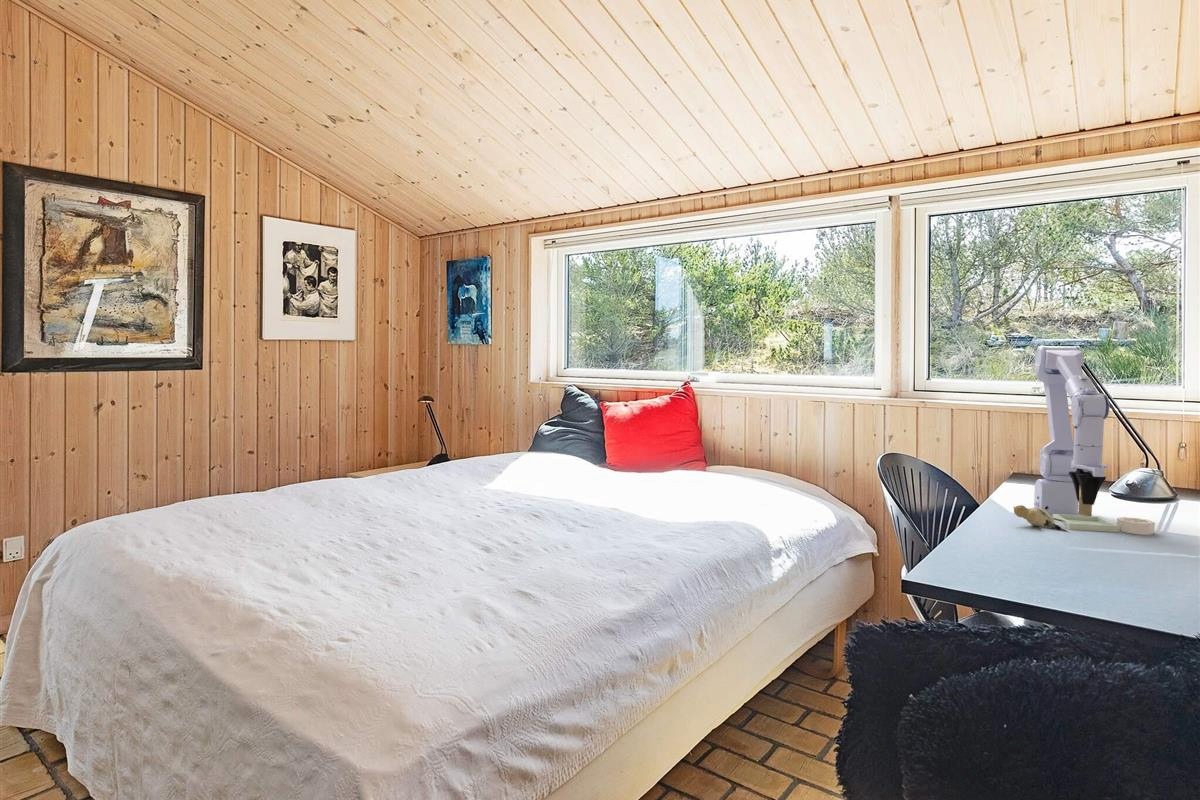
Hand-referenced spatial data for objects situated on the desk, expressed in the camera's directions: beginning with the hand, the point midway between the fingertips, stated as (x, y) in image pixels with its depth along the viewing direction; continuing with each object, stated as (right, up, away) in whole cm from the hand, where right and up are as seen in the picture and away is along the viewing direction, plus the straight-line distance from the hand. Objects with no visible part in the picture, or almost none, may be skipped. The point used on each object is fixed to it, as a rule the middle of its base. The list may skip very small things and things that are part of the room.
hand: (1085, 503), depth 172 cm
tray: (0, -6, 0) cm, 6 cm away
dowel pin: (0, -3, 0) cm, 3 cm away
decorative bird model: (-10, -6, -1) cm, 12 cm away
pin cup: (+8, -6, -5) cm, 11 cm away
